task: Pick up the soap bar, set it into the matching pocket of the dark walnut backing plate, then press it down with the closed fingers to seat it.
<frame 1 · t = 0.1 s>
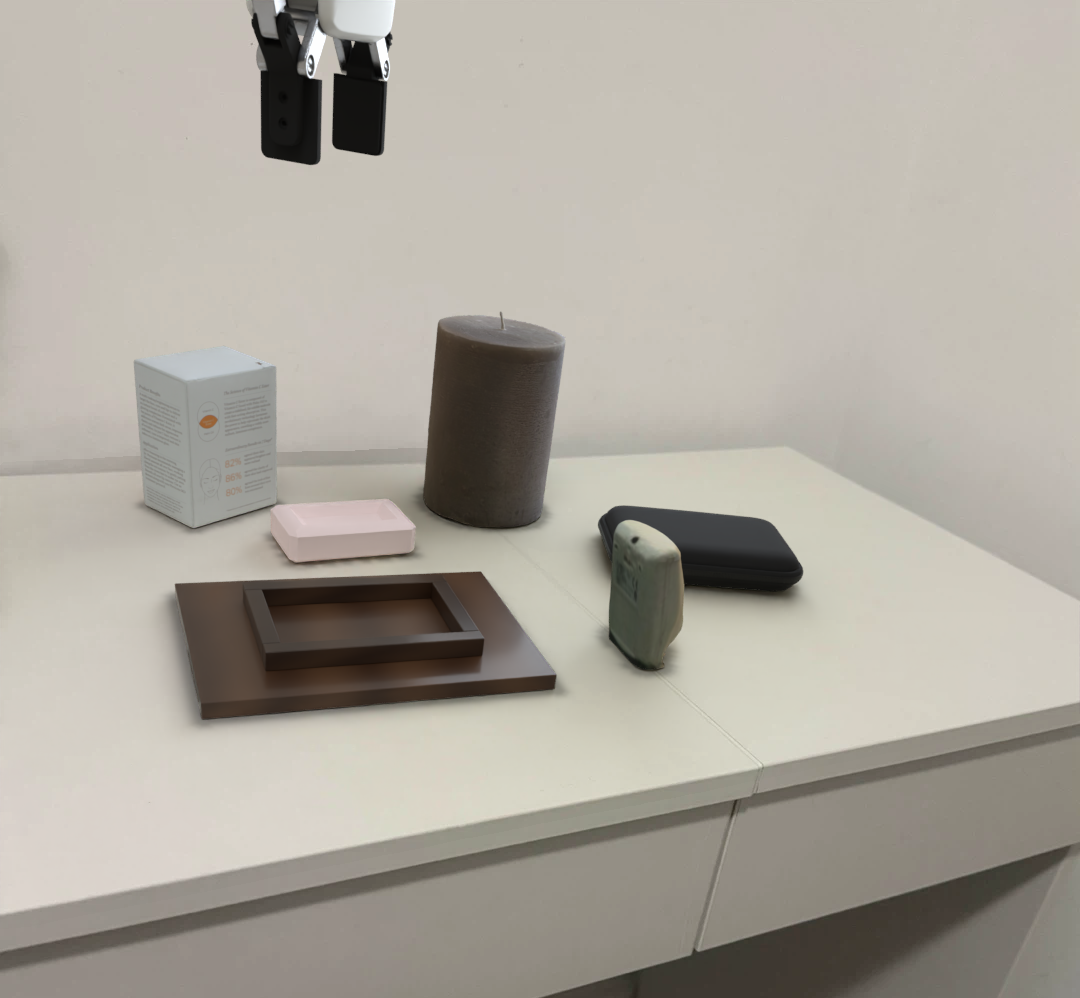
hand: (326, 156, 61), 25 cm above the table, tool pointing down, fingers open, 9 cm apart
small box: (211, 507, 78), on the table
grey-green rounded block: (631, 651, 68), on the table
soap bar: (342, 547, 76), on the table
pillar candle: (483, 507, 86), on the table
carrying case: (692, 565, 81), on the table
backing plate: (360, 642, 64), on the table
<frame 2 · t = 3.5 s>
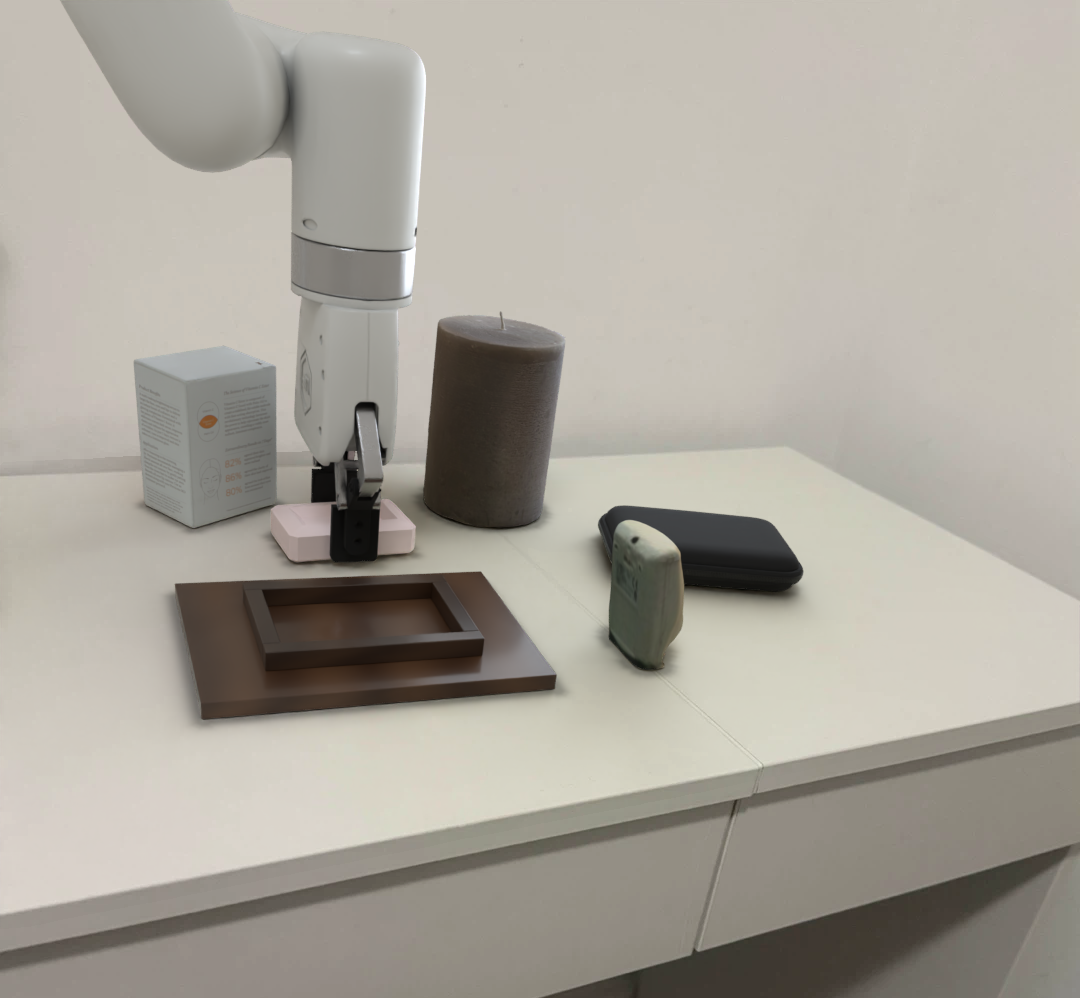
hand: (343, 538, 75), 1 cm above the table, tool pointing down, fingers closed on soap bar, 5 cm apart
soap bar: (342, 547, 76), on the table, touching gripper
everything else where it was.
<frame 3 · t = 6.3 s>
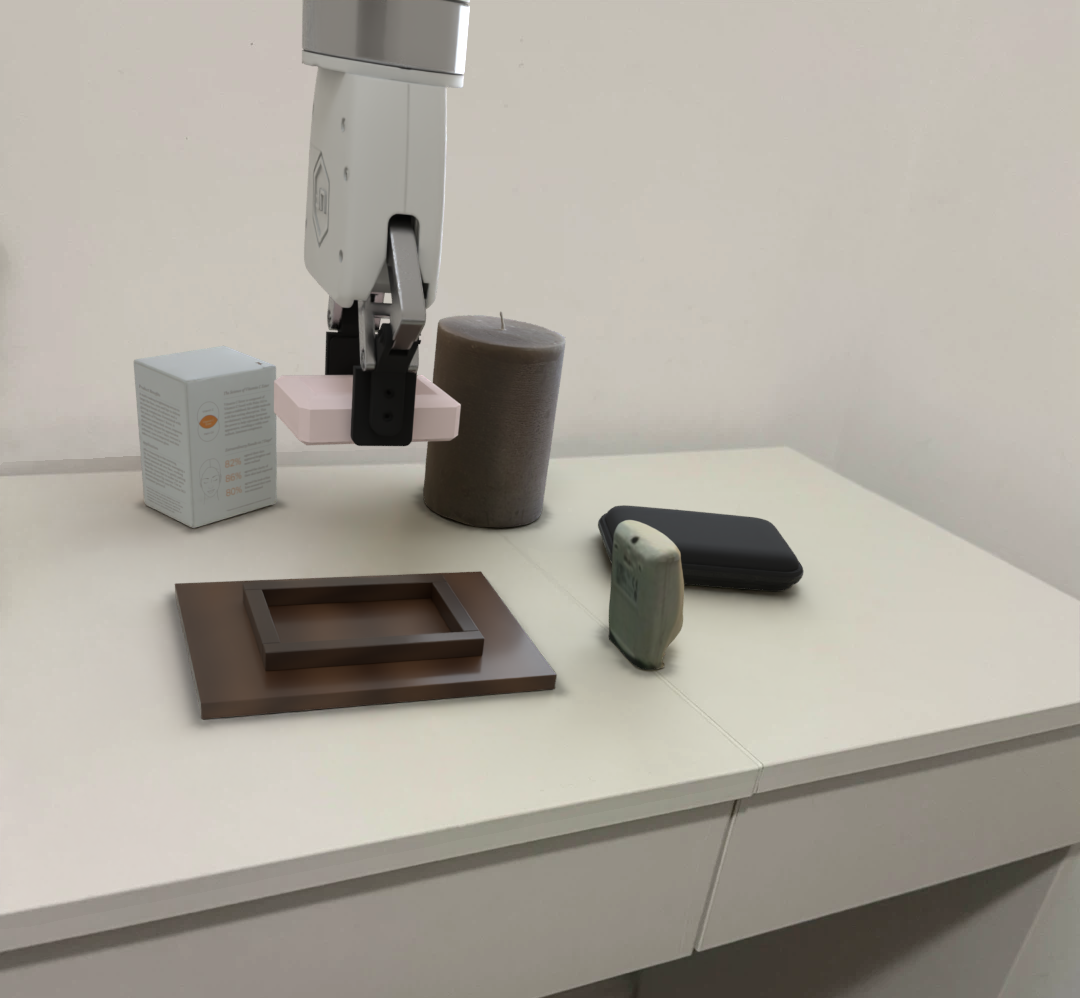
hand: (366, 420, 59), 13 cm above the table, tool pointing down, fingers closed on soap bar, 5 cm apart
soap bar: (366, 433, 59), point 12 cm above the table, touching gripper
everything else where it was.
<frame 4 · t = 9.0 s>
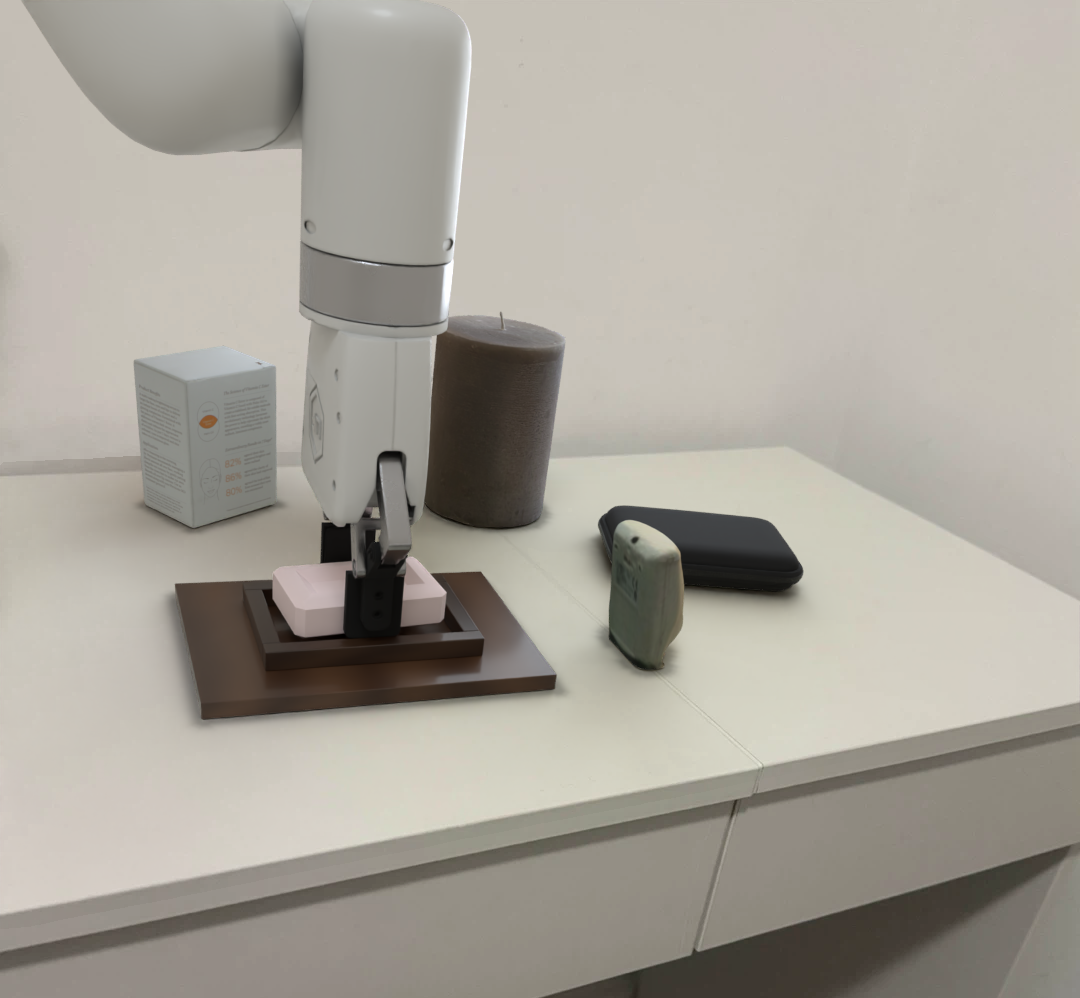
hand: (358, 605, 63), 2 cm above the table, tool pointing down, fingers closed on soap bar, 5 cm apart
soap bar: (358, 616, 63), point 2 cm above the table, touching gripper
everything else where it was.
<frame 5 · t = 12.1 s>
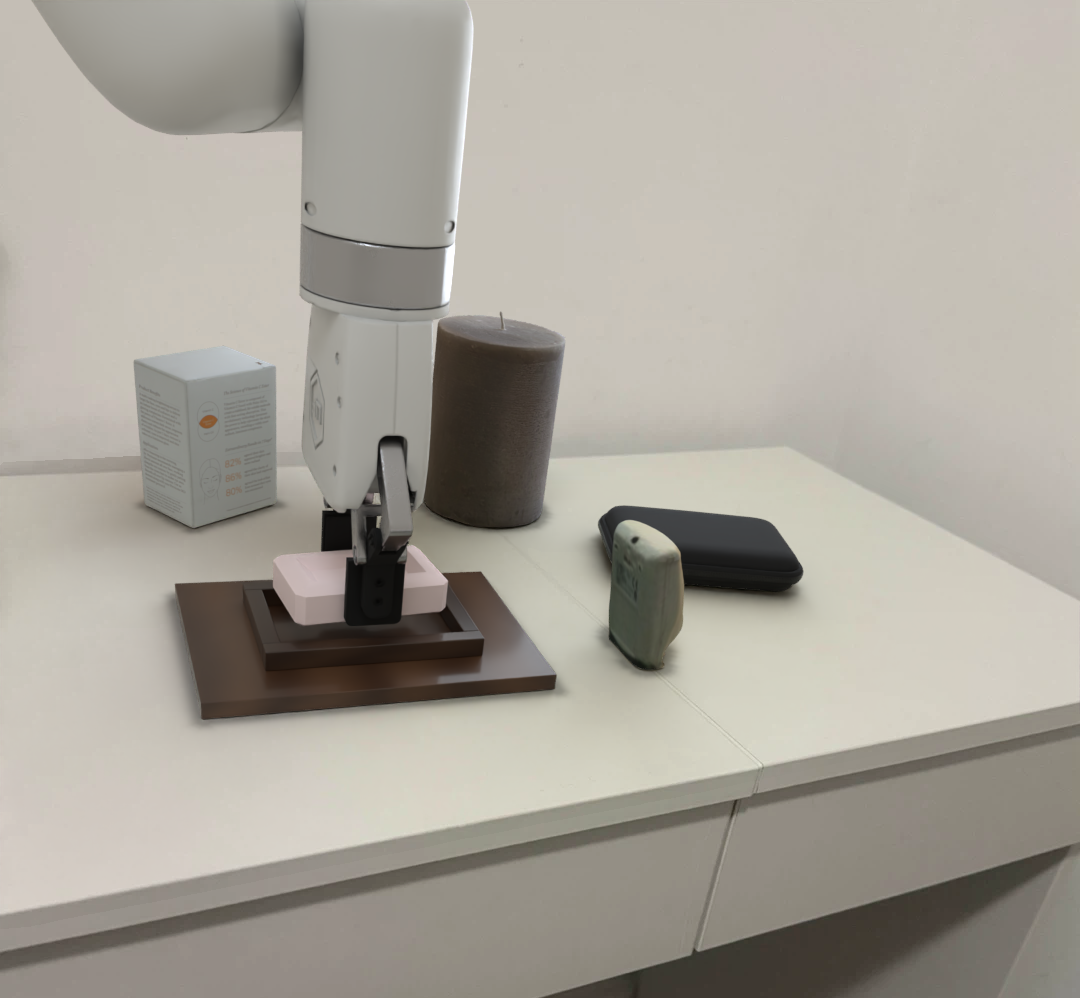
hand: (359, 594, 62), 3 cm above the table, tool pointing down, fingers closed on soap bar, 5 cm apart
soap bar: (359, 605, 63), point 2 cm above the table, touching gripper
everything else where it was.
when the fingers open (3 cm above the table, at t = 14.8 s): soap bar drops 2 cm, resting on backing plate.
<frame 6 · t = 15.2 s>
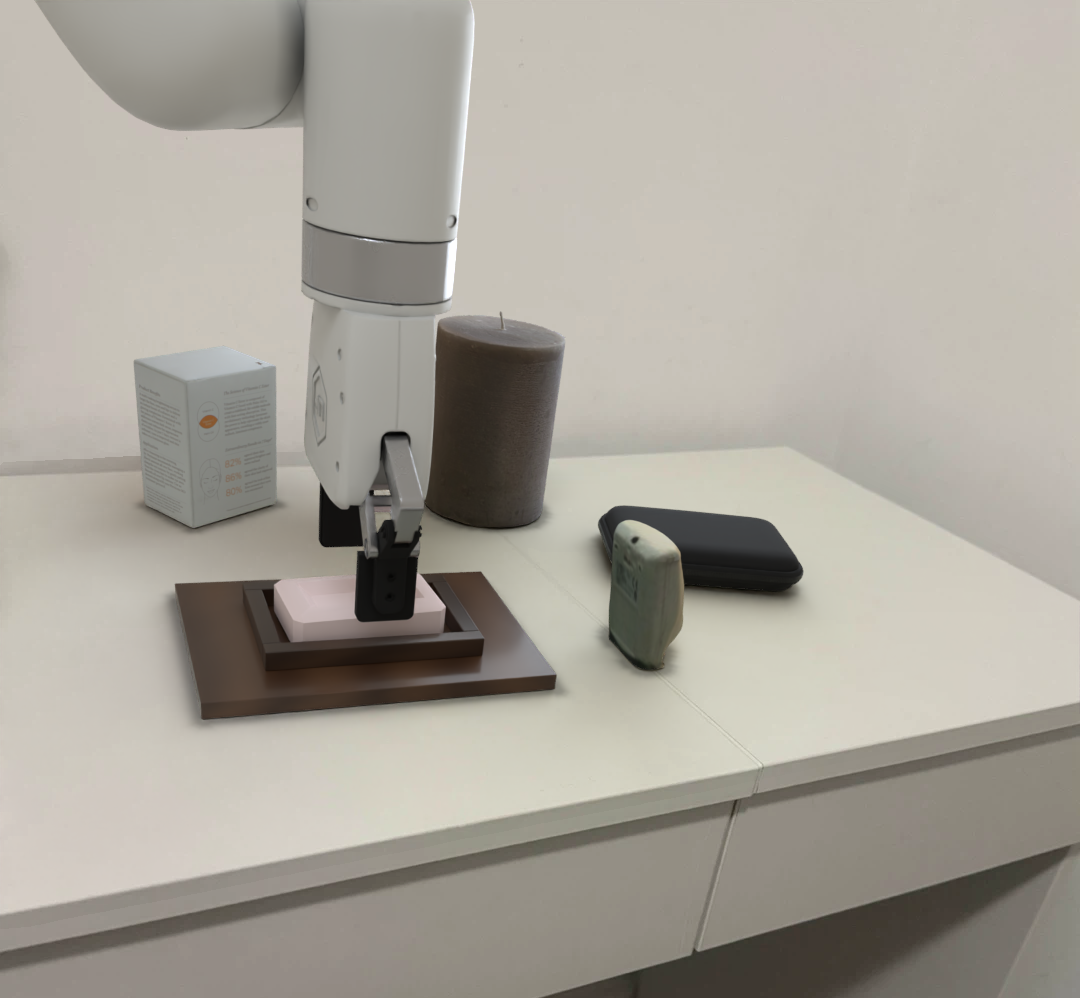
hand: (363, 579, 62), 4 cm above the table, tool pointing down, fingers open, 9 cm apart
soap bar: (358, 629, 64), point 1 cm above the table, touching backing plate
everything else where it was.
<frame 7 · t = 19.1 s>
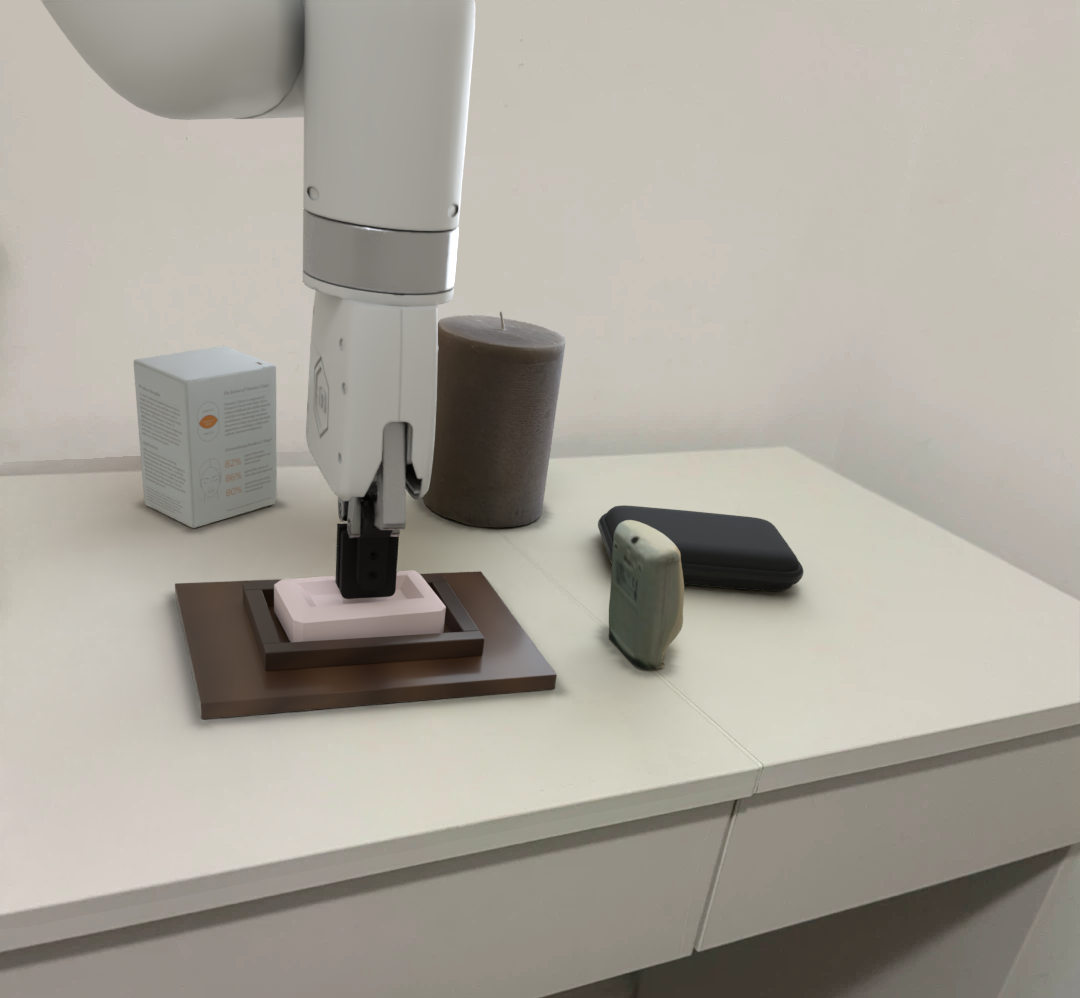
hand: (365, 591, 62), 3 cm above the table, tool pointing down, fingers closed
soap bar: (358, 629, 64), point 1 cm above the table, touching backing plate, gripper
everything else where it was.
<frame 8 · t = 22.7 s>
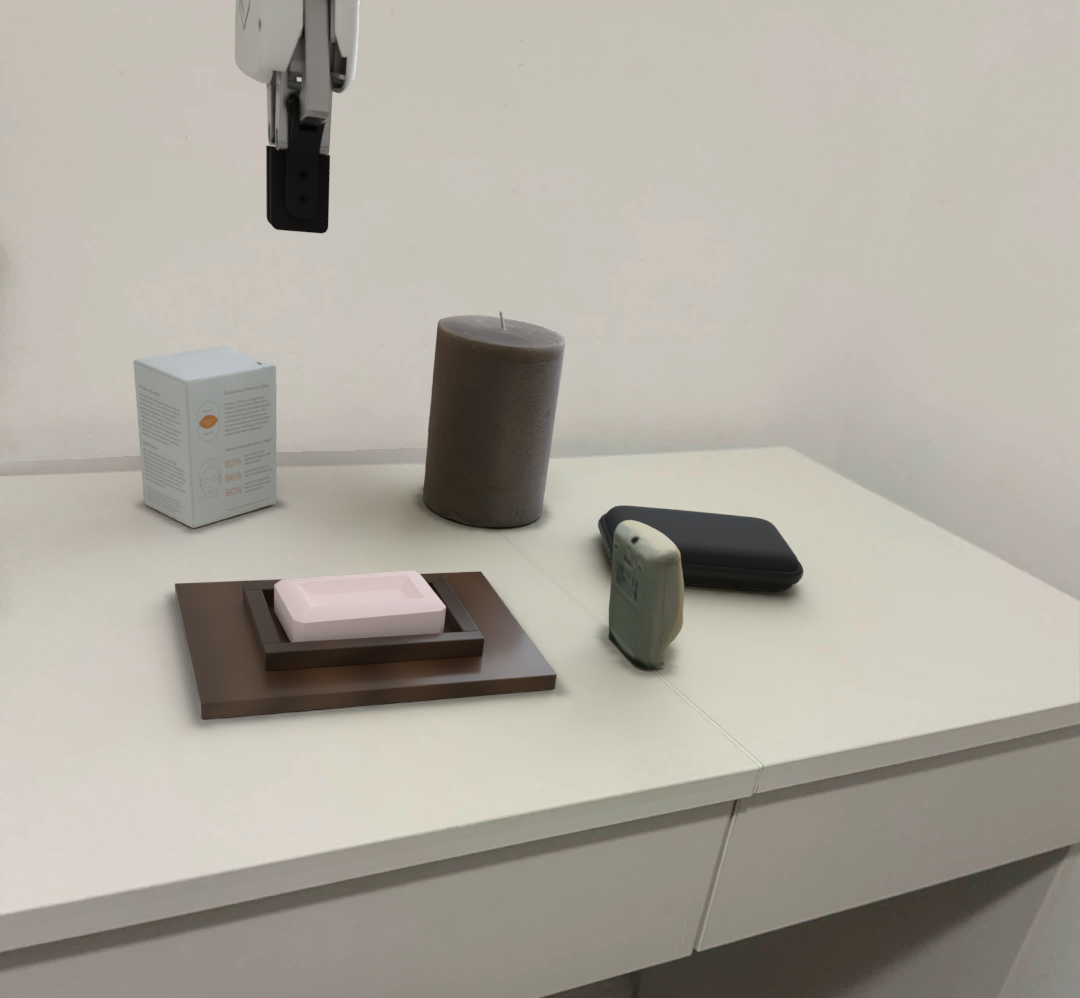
hand: (297, 228, 60), 21 cm above the table, tool pointing down, fingers closed
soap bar: (358, 629, 64), point 1 cm above the table, touching backing plate
everything else where it was.
at the end: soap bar 0.1 cm off-centre on the backing plate, point 0.8 cm above the backing plate's base; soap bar tilted 0°; the gripper is holding nothing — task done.
